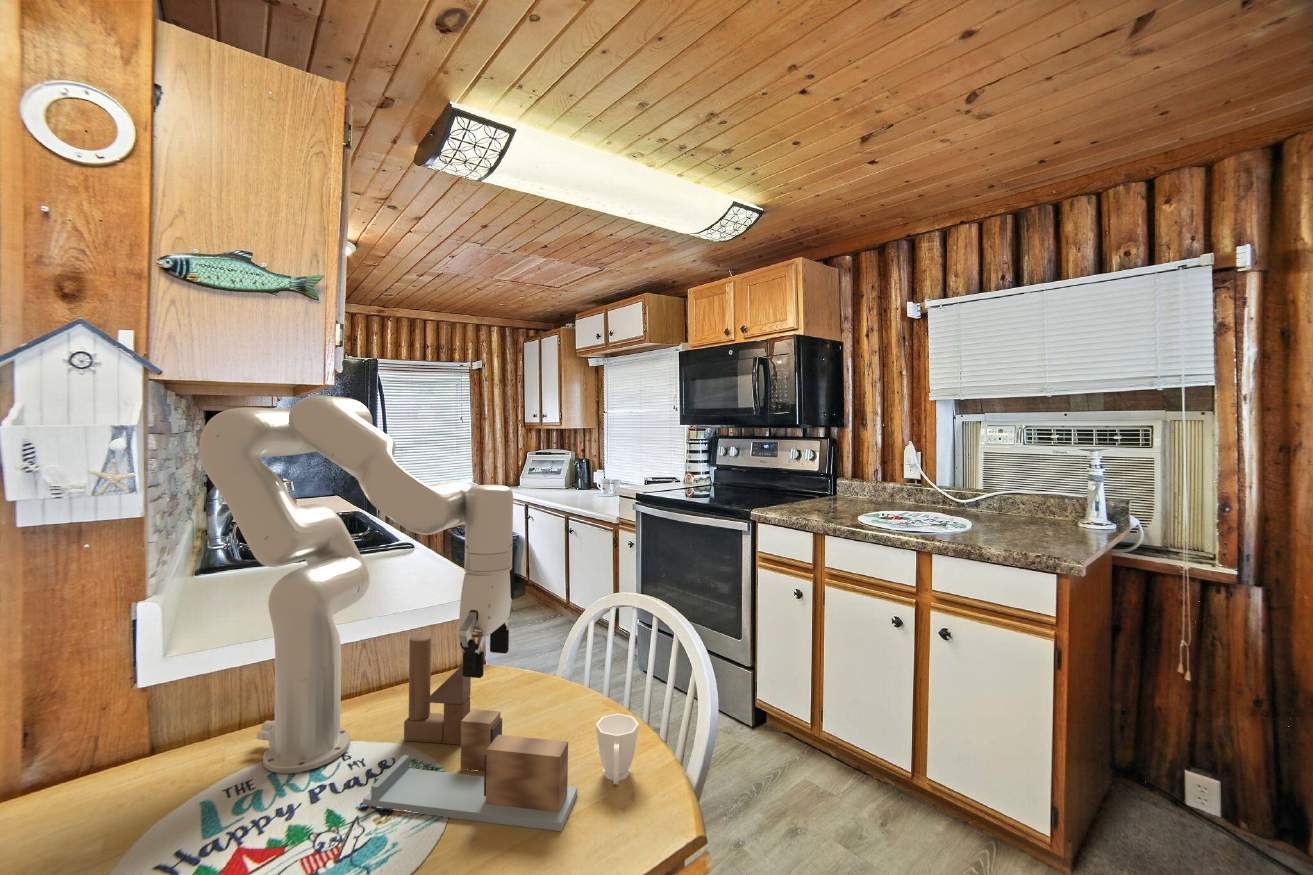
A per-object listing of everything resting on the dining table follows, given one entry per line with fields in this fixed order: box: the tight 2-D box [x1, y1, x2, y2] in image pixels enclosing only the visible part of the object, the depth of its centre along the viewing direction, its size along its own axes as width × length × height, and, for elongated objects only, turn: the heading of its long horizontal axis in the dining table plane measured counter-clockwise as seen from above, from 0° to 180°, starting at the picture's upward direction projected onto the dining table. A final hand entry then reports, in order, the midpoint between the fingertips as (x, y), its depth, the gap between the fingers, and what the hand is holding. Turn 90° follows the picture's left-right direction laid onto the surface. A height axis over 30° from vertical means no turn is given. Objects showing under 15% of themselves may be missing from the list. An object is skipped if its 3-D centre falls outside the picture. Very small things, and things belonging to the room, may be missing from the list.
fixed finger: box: [483, 734, 569, 812], centre depth 84 cm, size 11×4×8 cm, turn 82°
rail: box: [362, 754, 578, 832], centre depth 85 cm, size 30×8×3 cm, turn 82°
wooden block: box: [403, 633, 472, 746], centre depth 101 cm, size 4×11×18 cm, turn 85°
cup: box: [595, 713, 640, 785], centre depth 91 cm, size 7×10×8 cm
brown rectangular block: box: [460, 708, 503, 773], centre depth 94 cm, size 5×4×8 cm
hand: (486, 663), depth 94 cm, fingers open, 9 cm apart
